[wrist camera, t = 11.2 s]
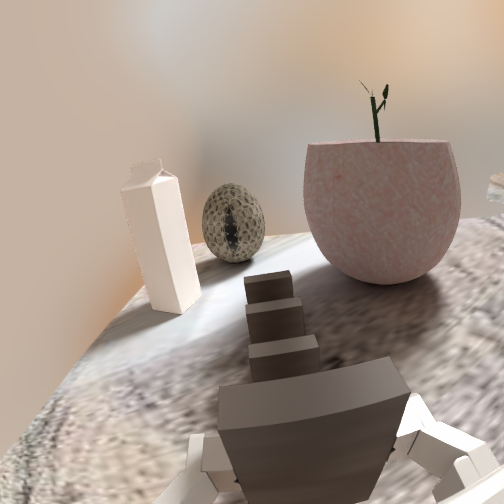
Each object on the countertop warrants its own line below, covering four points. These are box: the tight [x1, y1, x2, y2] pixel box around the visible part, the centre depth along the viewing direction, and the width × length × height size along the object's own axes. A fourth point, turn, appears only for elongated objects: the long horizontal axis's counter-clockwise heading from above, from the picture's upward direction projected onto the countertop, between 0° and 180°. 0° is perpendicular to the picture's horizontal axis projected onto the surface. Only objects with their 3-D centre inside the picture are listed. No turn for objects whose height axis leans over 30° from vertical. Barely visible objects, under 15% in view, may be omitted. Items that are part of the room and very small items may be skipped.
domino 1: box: [244, 270, 293, 304], centre depth 34 cm, size 5×2×8 cm, turn 93°
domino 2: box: [246, 296, 305, 344], centre depth 28 cm, size 5×2×8 cm, turn 93°
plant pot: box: [303, 84, 461, 285], centre depth 40 cm, size 24×24×30 cm
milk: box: [121, 159, 202, 314], centre depth 43 cm, size 6×6×22 cm
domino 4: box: [217, 356, 411, 504], centre depth 9 cm, size 5×2×8 cm, turn 93°
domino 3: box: [248, 334, 319, 383], centre depth 23 cm, size 5×2×8 cm, turn 93°
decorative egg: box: [202, 184, 265, 263], centre depth 57 cm, size 12×12×15 cm
